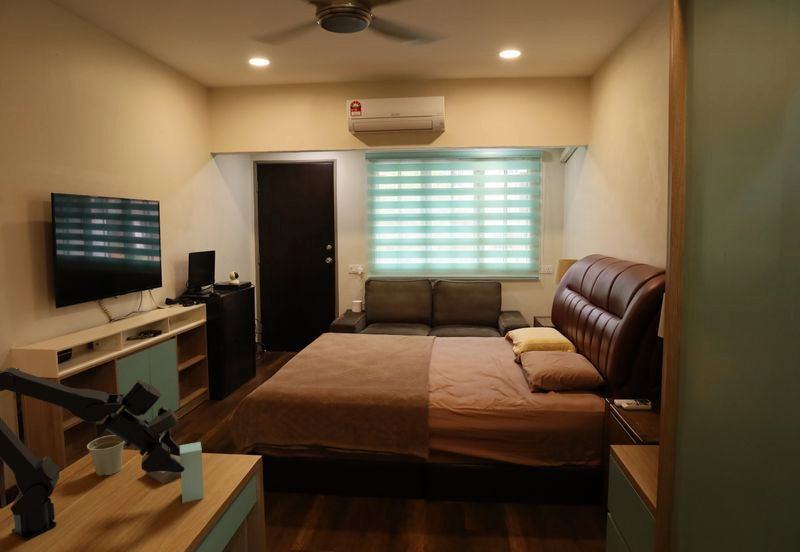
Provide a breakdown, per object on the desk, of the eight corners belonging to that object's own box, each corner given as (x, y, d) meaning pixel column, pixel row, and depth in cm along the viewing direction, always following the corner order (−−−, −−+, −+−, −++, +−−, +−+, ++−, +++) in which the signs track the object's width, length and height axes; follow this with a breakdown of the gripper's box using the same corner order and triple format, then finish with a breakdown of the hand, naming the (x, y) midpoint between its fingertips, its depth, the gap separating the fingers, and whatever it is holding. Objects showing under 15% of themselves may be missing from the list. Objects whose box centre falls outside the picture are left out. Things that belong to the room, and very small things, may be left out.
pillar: (182, 502, 123) (179, 453, 121) (181, 493, 127) (179, 445, 126) (203, 498, 125) (201, 449, 123) (202, 488, 129) (200, 441, 128)
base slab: (162, 483, 132) (162, 473, 131) (146, 473, 137) (145, 463, 137) (193, 470, 139) (193, 460, 139) (176, 461, 144) (176, 451, 144)
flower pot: (109, 481, 133) (107, 451, 132) (80, 477, 135) (78, 447, 134) (135, 464, 142) (133, 436, 141) (107, 461, 144) (105, 433, 143)
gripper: (154, 415, 112) (208, 451, 117) (156, 391, 128) (203, 423, 134) (117, 455, 109) (174, 490, 115) (124, 425, 126) (173, 456, 132)
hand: (183, 462), depth 124 cm, fingers open, 9 cm apart
